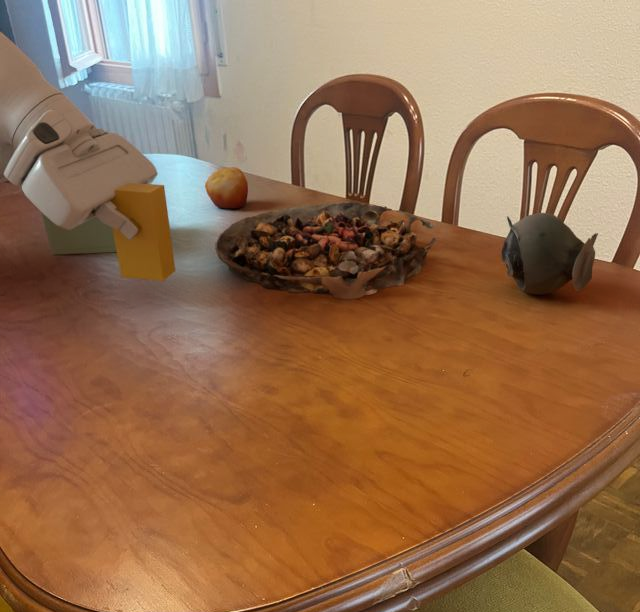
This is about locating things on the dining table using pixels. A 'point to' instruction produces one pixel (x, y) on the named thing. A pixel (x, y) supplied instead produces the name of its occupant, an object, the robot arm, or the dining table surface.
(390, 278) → the food dish
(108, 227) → the bin
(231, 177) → the fruit
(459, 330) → the dining table surface
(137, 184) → the packet
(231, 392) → the dining table surface
